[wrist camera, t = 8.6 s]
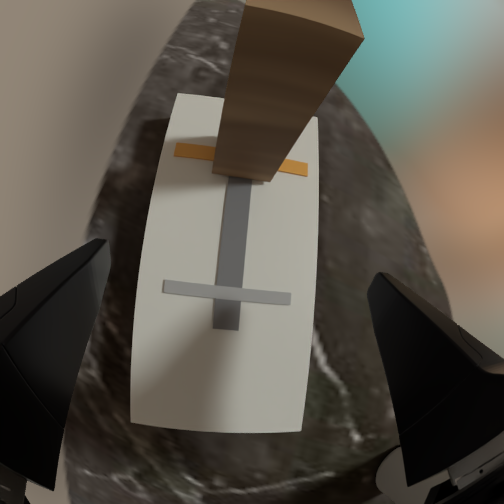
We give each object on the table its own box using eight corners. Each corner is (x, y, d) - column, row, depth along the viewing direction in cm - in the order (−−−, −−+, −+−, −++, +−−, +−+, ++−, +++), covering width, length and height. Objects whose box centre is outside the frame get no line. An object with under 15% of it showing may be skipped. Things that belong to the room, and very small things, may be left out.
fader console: (286, 415, 15) (301, 431, 13) (138, 406, 14) (130, 423, 11) (303, 137, 19) (318, 116, 16) (178, 116, 17) (177, 91, 15)
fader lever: (270, 182, 15) (364, 38, 5) (211, 173, 14) (245, 5, 5) (272, 141, 15) (350, -2, 6) (218, 132, 15) (253, -29, 5)
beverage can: (403, 487, 16) (499, 541, 4) (361, 491, 15) (461, 568, 4) (426, 439, 17) (537, 479, 5) (387, 440, 16) (511, 499, 5)
